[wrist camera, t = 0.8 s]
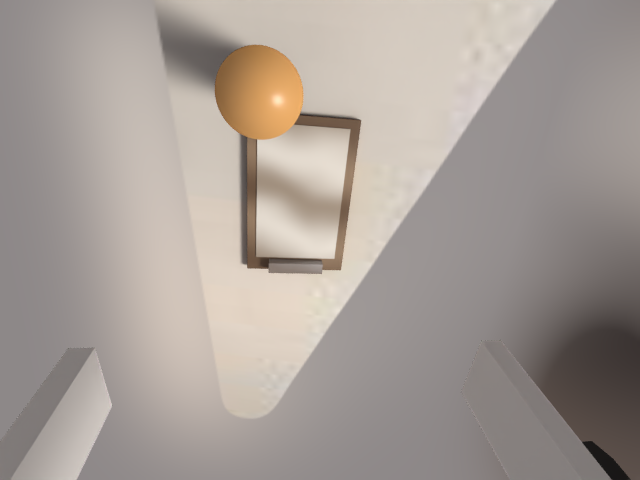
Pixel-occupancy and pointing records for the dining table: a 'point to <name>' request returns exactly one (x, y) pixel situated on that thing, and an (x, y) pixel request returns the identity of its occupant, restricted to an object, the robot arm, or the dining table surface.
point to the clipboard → (301, 195)
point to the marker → (259, 92)
